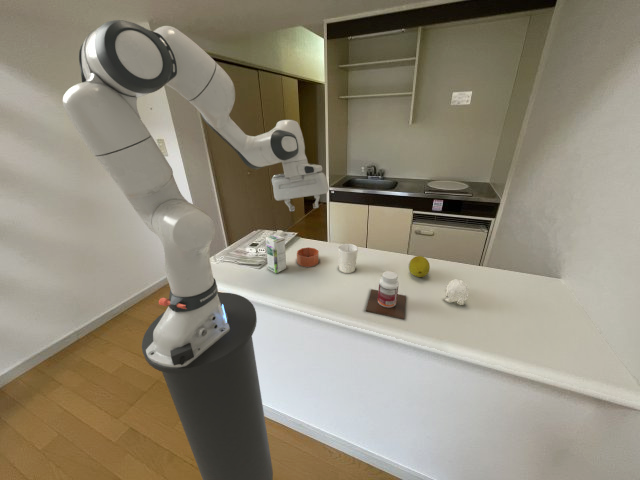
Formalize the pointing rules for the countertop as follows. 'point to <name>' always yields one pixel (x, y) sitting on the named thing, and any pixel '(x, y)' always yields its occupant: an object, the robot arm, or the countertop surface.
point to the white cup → (347, 257)
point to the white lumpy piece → (457, 291)
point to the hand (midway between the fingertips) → (304, 209)
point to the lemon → (419, 266)
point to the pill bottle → (388, 289)
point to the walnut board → (394, 311)
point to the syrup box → (276, 253)
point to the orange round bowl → (307, 257)
